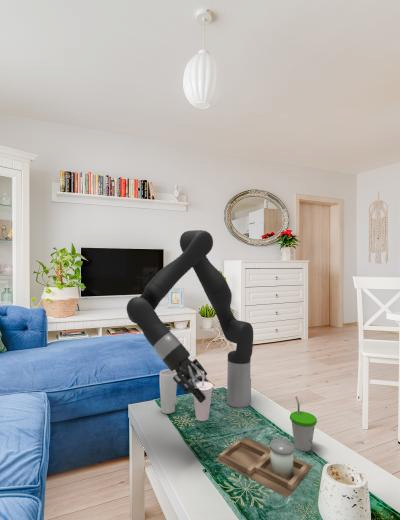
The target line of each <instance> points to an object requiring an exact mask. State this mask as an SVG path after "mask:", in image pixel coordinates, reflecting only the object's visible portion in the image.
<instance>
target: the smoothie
mask: <svg viewBox="0 0 400 520" xmlns="http://www.w3.org/2000/svg"><path fill="white" fill-rule="evenodd" d="M201 373H202V381H199V382H198V381H195V383H196V385H197V388H199V389H200V390H201V392H202V393H203V394H204V395H205V397H206V399H205V400H204V401H203V402H202V403H200V402H199V401H198V400H197V399H196V397H195V396H194V395H193V394H192V395H193V406H194V414H195V419H196V420H197V421H200V422H205V421H207V420H209V418H210V417H209V416H210V409H211V401H212V393H213V391H214V389H213V388H214V385H213V383H211V382H210V381H208V382H205V381H204V371H201Z"/></svg>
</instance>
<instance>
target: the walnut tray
mask: <svg viewBox="0 0 400 520" xmlns="http://www.w3.org/2000/svg"><path fill="white" fill-rule="evenodd" d="M270 454H271V449H270V446H268V445H266V444H264V443H261V442H259V441H256V440H255V439H252V438H250V437H247V436H245V437H243V439H238V440H236V441H235V442H234V443H232V444H231V445H230V446H228V447H227V448H225V450H223V451H222V452H220V453H219V454H218V457H217V458H216V459H215V461H216V462H218V463H220V464H222V465H224V466H225V467H228V468H229V469H231V470H233V471H234V472H237V473H239V474H241V475H242V476H245V477H246V478H248V479H250V480H252V481H255V482H256V483H258V484H259V485H260V486H261V485H262V486H263V487H266V488H268V489H269V490H271V491H273V492H274V493H277V494H279V495H280V496H282V497H284V498H286V499H288V498H289V497H290V496H291V495H292V493H293V492H294V491H295V490H296V488H297V487H298V485H299V484H300V483H301V482H302V481H303V480H304V478H305V477H306V476H307V475H308V473H309V472H310V471H311V470H312V468H314V465H312V464H310V463H307V462H304V461H303V460H301V459H298V458H296V457H293V476H292V477H291V478H289V479H284V478H282V477H280V476H277V475H275V474H273V473H271V471H270Z"/></svg>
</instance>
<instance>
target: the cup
mask: <svg viewBox="0 0 400 520" xmlns="http://www.w3.org/2000/svg"><path fill="white" fill-rule="evenodd" d="M295 400H296V403H297V411H293V412H291V413H290V414H289V419H290V421H291V427H292V429H291V430H292V435H293V442H294V443H293V445H294V449H296V450H298V451H301V452H303V453H304V452H305V453H306V452H309V451H312V450H311V449H312V445H313V440H314V433H315V427H316V425H317V423H318V421H317V420H318V419H317V417H316V416H315V415H314V414H312V413H310V412H307V411H301V410H300V407H301V406H300V402H299V398H298V396H297V395H296V396H295Z"/></svg>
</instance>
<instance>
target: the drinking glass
mask: <svg viewBox="0 0 400 520" xmlns="http://www.w3.org/2000/svg"><path fill="white" fill-rule="evenodd" d="M176 374H177V372H176V371H175V370H174V371H171V370H170V369H169V368H165V369H162V370H160V371H159V393H160V394H159V395H160V411H161V413H162V414H165V415H169V414H173V413H174V412H176V399H177V390H178V389H177V388H178V384H177V383H176V382H175V381H174V379H173V377H174V376H175V375H176Z"/></svg>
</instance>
